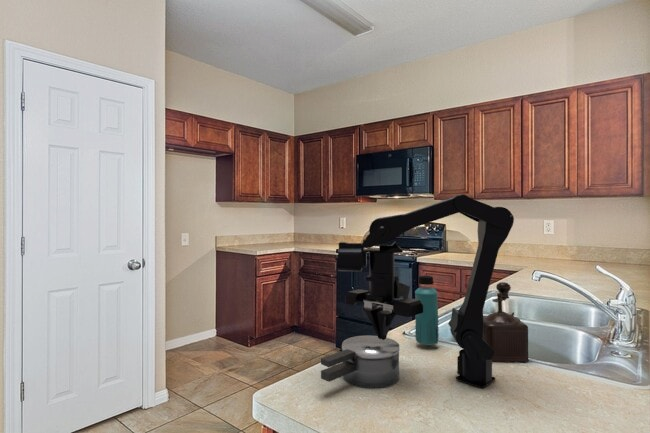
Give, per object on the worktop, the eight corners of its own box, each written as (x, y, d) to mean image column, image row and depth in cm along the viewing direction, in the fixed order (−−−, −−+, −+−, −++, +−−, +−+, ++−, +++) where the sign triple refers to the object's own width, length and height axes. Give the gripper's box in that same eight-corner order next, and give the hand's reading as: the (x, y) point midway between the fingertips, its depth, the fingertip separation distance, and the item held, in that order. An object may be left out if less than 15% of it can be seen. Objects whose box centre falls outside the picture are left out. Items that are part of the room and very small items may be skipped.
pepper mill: (532, 363, 98) (532, 291, 98) (487, 362, 99) (486, 291, 99) (508, 343, 113) (508, 281, 113) (469, 342, 114) (469, 280, 114)
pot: (410, 376, 90) (410, 350, 90) (348, 407, 76) (347, 376, 76) (364, 360, 101) (364, 337, 100) (301, 385, 86) (301, 358, 86)
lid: (410, 348, 90) (410, 343, 90) (348, 375, 76) (348, 369, 76) (367, 336, 100) (367, 331, 100) (304, 357, 85) (304, 351, 85)
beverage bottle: (439, 351, 107) (439, 278, 107) (415, 349, 108) (414, 277, 108) (437, 343, 113) (437, 274, 113) (414, 342, 115) (414, 273, 114)
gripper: (436, 272, 89) (436, 340, 89) (372, 264, 103) (373, 324, 103) (408, 277, 82) (408, 352, 82) (343, 269, 95) (343, 333, 95)
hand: (382, 339), depth 91 cm, fingers closed
